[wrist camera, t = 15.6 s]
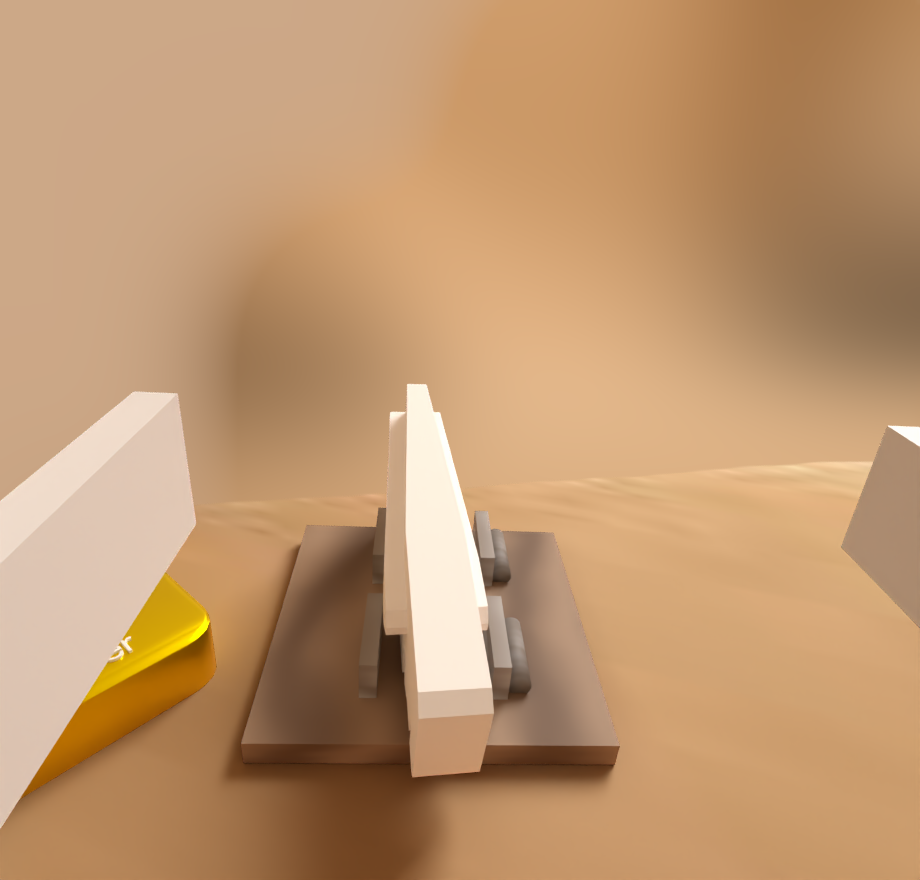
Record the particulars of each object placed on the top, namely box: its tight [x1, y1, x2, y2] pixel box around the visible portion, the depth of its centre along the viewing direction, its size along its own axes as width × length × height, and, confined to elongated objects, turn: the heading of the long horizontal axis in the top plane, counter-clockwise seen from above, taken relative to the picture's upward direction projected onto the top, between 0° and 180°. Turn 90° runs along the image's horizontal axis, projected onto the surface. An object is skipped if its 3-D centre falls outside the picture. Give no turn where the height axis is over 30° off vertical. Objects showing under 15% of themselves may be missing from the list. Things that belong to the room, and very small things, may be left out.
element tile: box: [20, 572, 217, 799], centre depth 37 cm, size 15×15×5 cm
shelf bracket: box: [383, 384, 494, 777], centre depth 40 cm, size 6×25×13 cm, turn 8°
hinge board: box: [241, 508, 620, 765], centre depth 42 cm, size 20×20×4 cm
